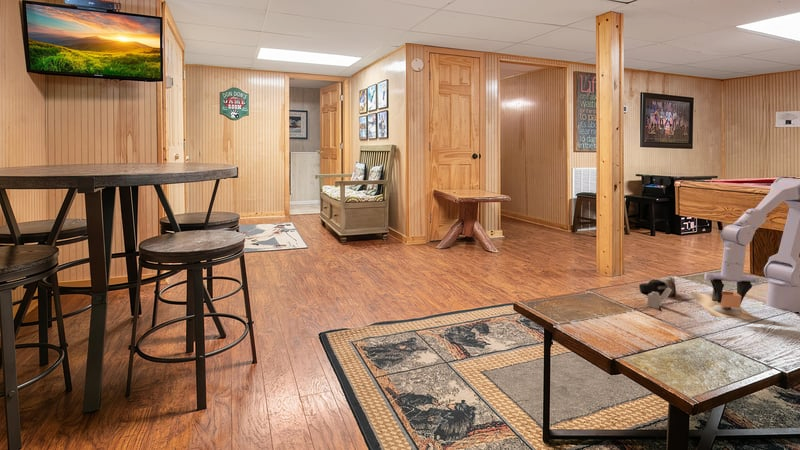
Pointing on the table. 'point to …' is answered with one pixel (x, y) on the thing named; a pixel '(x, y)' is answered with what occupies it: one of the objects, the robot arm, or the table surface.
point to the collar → (730, 299)
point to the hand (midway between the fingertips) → (728, 302)
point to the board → (720, 307)
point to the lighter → (657, 298)
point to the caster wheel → (659, 286)
